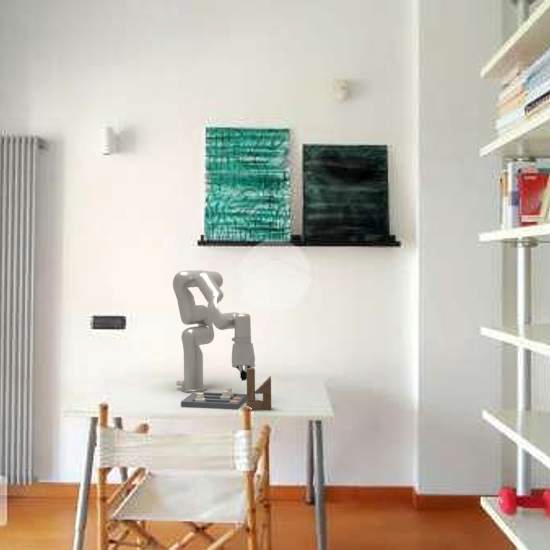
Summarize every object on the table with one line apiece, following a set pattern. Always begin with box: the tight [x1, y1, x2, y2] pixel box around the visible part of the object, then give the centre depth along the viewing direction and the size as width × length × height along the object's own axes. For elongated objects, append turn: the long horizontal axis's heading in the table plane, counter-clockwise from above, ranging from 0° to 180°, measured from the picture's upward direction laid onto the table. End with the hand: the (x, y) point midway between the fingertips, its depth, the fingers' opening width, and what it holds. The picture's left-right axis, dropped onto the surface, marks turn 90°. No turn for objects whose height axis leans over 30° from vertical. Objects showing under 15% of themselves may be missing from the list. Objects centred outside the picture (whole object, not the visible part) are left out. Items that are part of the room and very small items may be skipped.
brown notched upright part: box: [245, 367, 272, 411], centre depth 244 cm, size 4×11×18 cm, turn 94°
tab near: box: [195, 393, 206, 402], centre depth 250 cm, size 4×3×4 cm
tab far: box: [225, 387, 235, 396], centre depth 260 cm, size 4×3×4 cm
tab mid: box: [220, 389, 231, 399], centre depth 254 cm, size 4×3×4 cm
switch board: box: [180, 391, 247, 410], centre depth 255 cm, size 26×18×3 cm
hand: (244, 379), depth 259 cm, fingers closed
